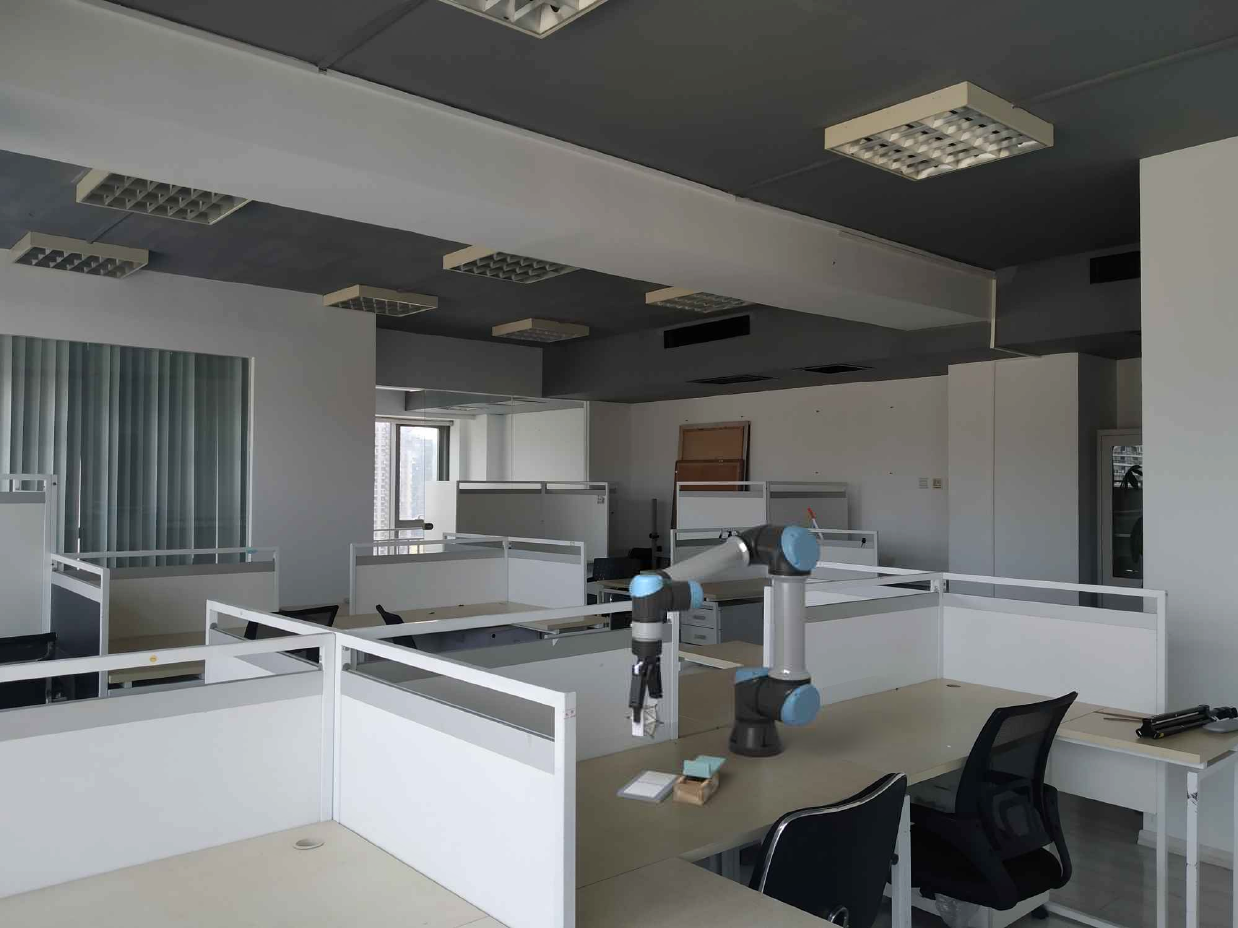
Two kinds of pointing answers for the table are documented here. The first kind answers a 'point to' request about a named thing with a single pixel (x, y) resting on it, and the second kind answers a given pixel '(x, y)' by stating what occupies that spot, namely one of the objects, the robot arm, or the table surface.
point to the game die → (649, 720)
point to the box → (695, 788)
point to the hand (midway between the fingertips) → (645, 729)
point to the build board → (649, 786)
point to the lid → (703, 766)
